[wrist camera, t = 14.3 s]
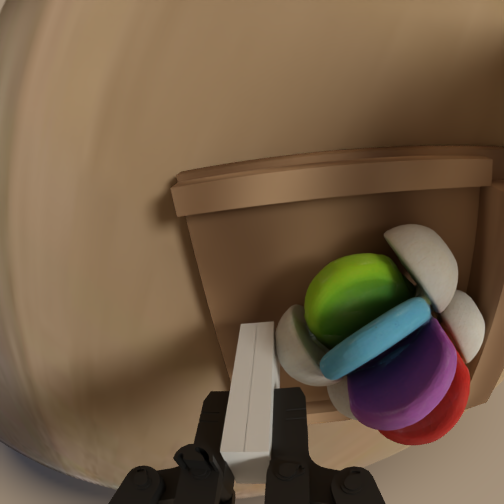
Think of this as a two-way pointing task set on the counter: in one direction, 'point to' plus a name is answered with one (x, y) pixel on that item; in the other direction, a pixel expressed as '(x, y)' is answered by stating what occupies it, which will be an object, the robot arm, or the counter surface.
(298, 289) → the square wooden tray
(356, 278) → the rainbow disc rattle
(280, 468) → the robot arm
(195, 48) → the counter surface
